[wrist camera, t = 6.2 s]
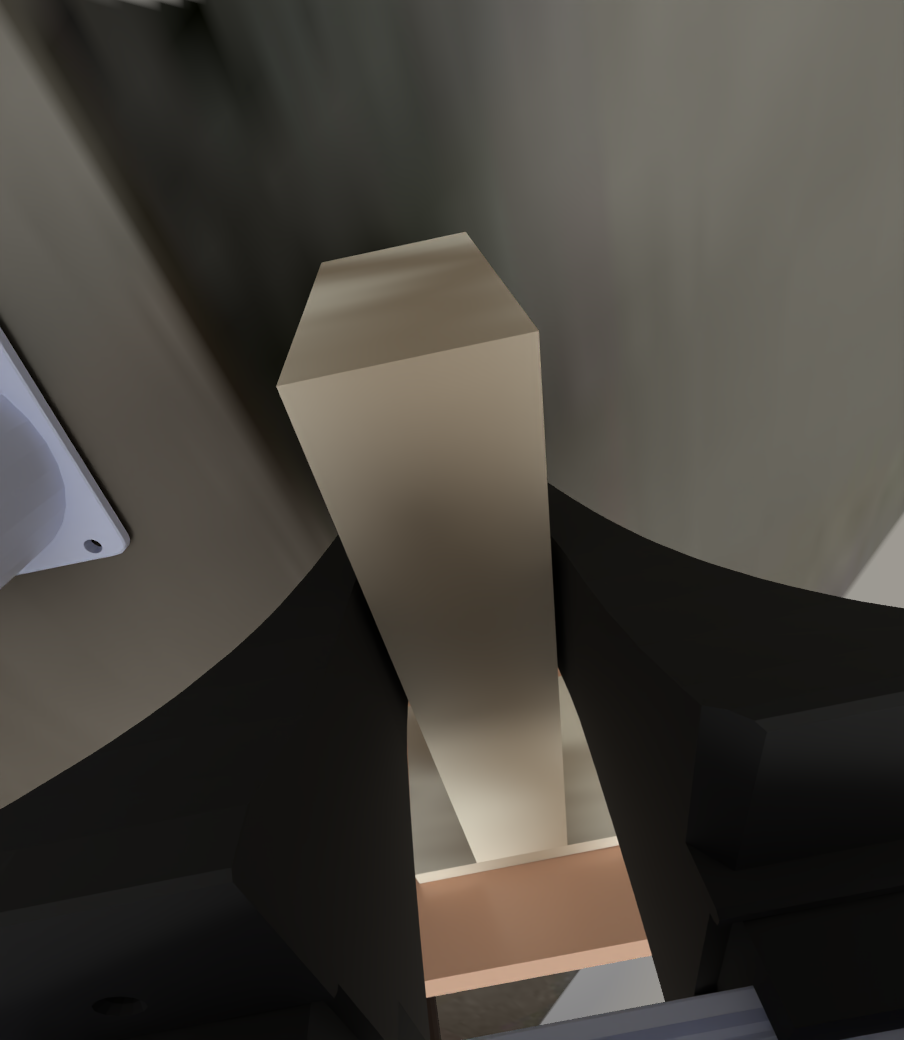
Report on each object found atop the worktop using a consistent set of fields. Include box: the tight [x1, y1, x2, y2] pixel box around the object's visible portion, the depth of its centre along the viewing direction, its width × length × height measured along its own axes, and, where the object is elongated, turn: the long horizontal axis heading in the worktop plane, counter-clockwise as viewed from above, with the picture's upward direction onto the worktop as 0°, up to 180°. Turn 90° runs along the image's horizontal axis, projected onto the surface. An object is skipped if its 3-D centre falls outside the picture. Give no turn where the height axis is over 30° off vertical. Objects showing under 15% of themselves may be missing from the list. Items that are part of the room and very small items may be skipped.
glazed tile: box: [407, 669, 652, 998], centre depth 17 cm, size 7×2×9 cm, turn 100°
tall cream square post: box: [276, 232, 619, 884], centre depth 11 cm, size 6×15×5 cm, turn 11°
